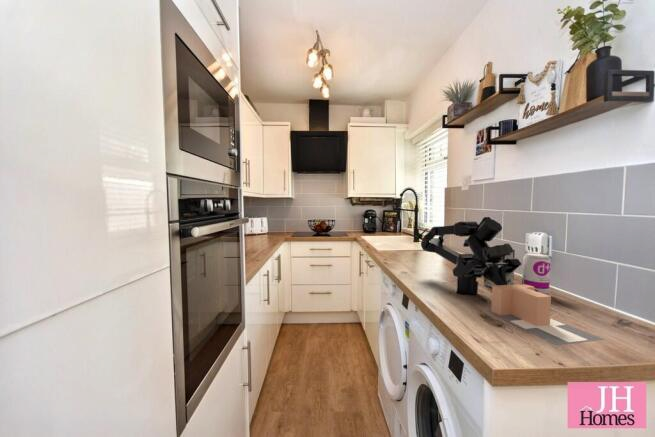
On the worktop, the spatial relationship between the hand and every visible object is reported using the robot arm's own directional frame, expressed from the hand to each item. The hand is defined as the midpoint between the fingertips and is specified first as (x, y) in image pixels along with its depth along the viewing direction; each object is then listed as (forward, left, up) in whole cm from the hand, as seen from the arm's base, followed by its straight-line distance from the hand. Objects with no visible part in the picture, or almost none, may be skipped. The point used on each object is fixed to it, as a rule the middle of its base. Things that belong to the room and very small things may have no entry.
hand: (506, 289), depth 86 cm
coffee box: (-2, +28, -7) cm, 29 cm away
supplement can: (+10, +26, -7) cm, 29 cm away
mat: (+8, -8, -7) cm, 13 cm away
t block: (+5, -5, -6) cm, 9 cm away
